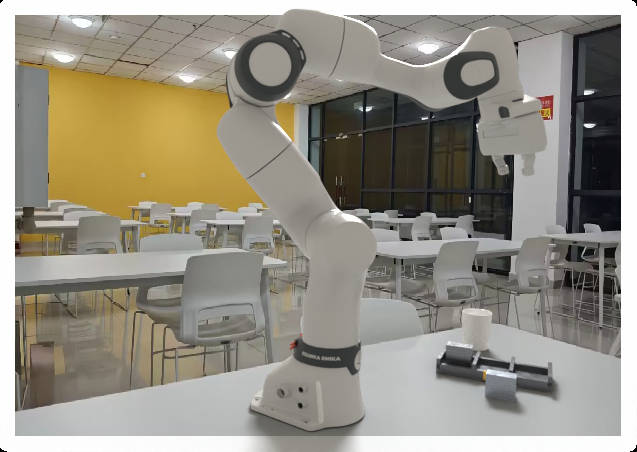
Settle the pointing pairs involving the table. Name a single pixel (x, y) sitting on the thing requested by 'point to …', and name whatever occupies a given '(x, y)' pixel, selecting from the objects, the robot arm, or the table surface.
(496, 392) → the grey upright block
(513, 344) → the table surface
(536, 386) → the rack
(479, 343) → the white cup
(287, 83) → the robot arm
